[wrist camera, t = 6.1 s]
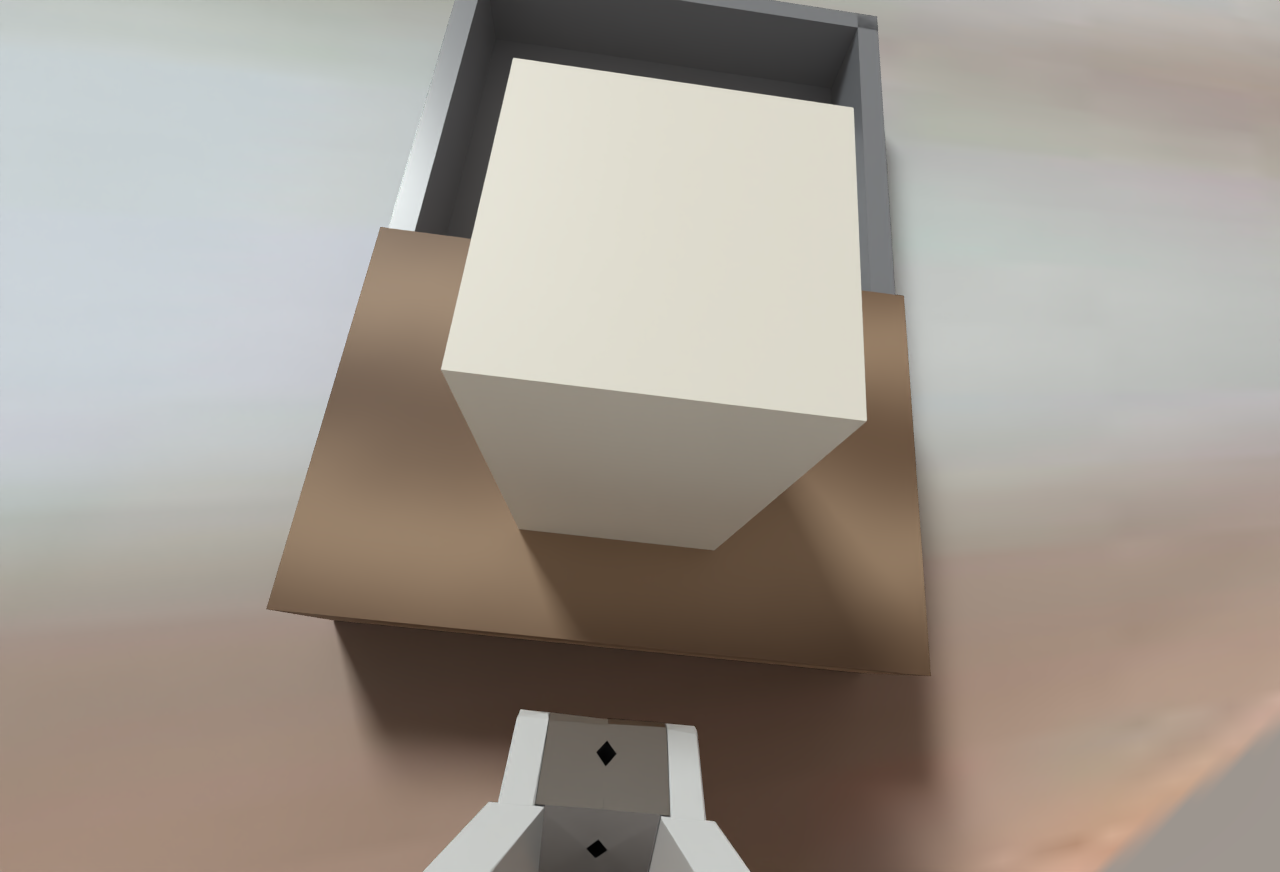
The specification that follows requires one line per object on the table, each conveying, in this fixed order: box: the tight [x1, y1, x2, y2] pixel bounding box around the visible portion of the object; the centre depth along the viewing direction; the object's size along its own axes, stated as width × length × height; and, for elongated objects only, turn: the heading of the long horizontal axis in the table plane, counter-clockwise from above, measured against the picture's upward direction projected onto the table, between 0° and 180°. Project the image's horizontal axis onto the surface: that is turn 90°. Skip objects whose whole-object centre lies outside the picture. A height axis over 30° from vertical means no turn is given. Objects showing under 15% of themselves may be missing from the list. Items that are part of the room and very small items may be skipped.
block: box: [441, 58, 867, 550], centre depth 12 cm, size 5×5×9 cm
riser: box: [267, 227, 931, 676], centre depth 18 cm, size 11×16×4 cm
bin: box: [388, 0, 895, 295], centre depth 23 cm, size 13×16×4 cm
